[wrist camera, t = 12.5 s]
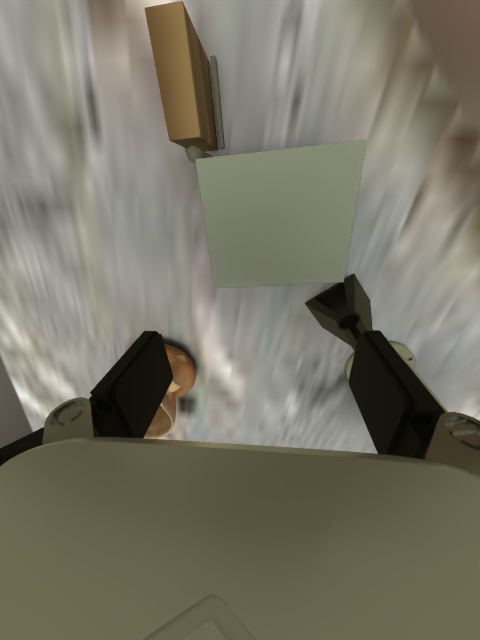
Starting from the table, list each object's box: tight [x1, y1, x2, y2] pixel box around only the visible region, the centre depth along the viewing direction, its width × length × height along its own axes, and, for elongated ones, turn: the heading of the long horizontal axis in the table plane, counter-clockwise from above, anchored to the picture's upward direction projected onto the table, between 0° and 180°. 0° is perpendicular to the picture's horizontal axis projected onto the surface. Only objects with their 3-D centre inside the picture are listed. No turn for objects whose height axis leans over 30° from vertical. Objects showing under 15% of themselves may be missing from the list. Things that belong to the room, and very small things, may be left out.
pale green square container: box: [185, 55, 367, 288], centre depth 25 cm, size 22×18×13 cm
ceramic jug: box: [144, 344, 196, 439], centre depth 44 cm, size 18×14×14 cm
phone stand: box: [305, 274, 373, 351], centre depth 34 cm, size 9×6×12 cm, turn 129°
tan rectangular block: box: [145, 1, 218, 152], centre depth 23 cm, size 4×8×10 cm, turn 5°
